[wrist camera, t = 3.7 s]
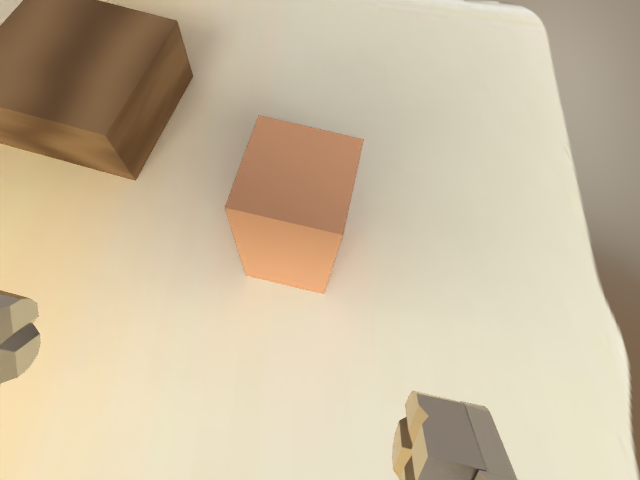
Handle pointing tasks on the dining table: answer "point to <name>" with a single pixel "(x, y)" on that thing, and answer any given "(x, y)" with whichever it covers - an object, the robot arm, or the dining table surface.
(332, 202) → the terracotta block
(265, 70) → the dining table surface
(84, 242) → the dining table surface
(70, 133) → the walnut block
